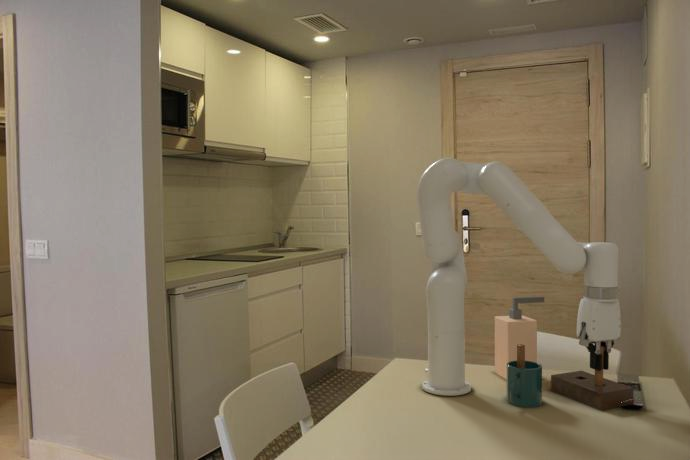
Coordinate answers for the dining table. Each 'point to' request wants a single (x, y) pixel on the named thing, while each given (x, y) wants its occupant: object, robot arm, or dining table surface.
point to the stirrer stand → (591, 390)
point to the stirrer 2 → (599, 374)
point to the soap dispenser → (515, 335)
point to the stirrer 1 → (521, 356)
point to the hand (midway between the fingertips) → (599, 368)
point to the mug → (524, 384)
